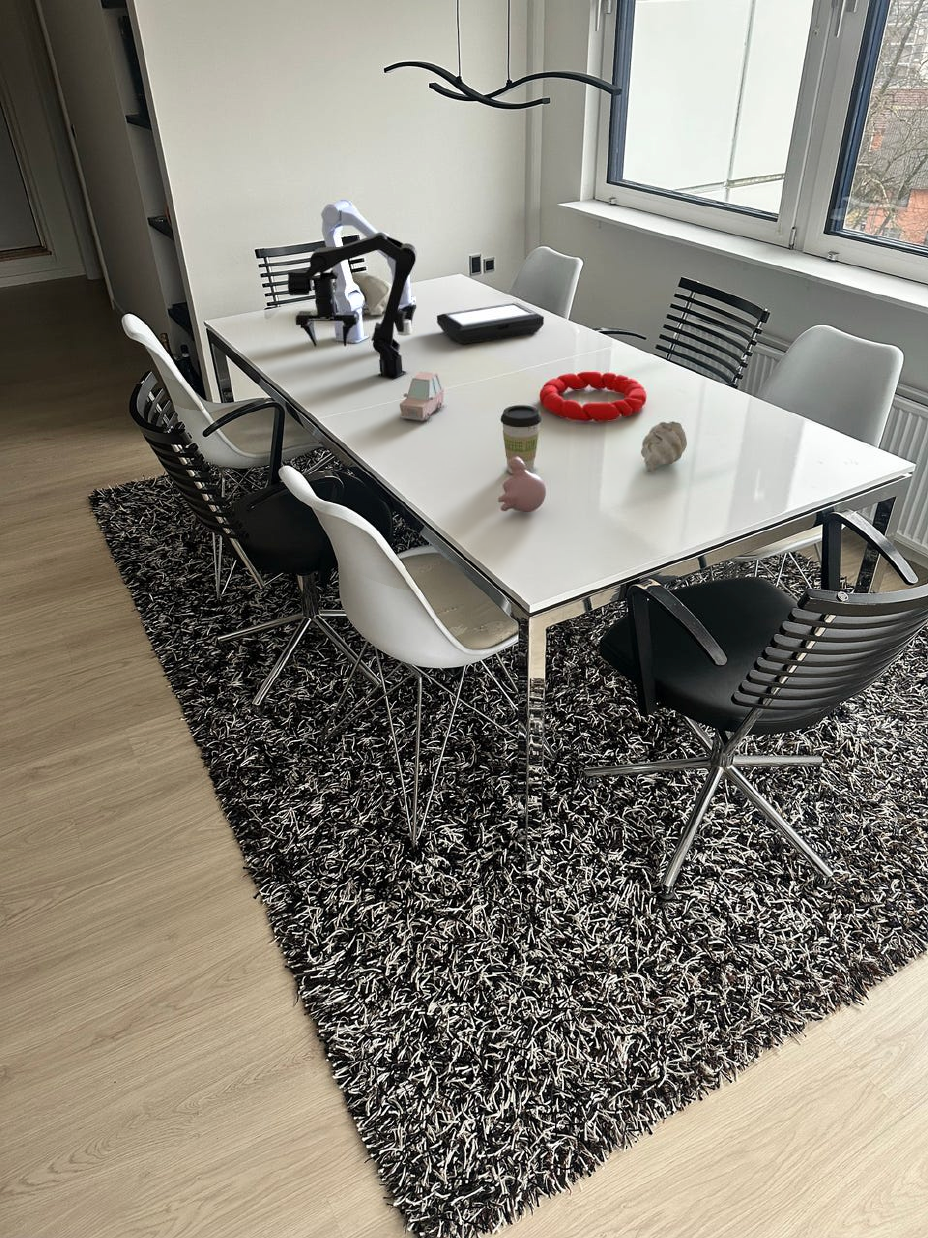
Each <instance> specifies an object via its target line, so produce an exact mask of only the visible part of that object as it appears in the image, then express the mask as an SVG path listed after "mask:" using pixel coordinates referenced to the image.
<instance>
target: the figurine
mask: <svg viewBox="0 0 928 1238" xmlns="http://www.w3.org/2000/svg"><path fill="white" fill-rule="evenodd" d="M509 467H510V468H511V469H512V473H511V475H512V476H510V477H508V479H506V480H505V481H503V484H502V488H503V491H504V493H503V494H501V495H500V496H499V497H498V498H497V500H498V501H497V502H498V503H502V505H501V506H500V510H501V511H502V512H507V511H509V510H514V511H517V512H520V513H531V512H534V511H536V510H537V509H539V508H540V507H541V506H542V505H543V503H544V501H545V500H546V494H547V489H546V485H545V483H544V481H543V480H542V479H541V477H540V476H538V475H537V474H535V473H532V472H531V473H529V472H528V471H526V466H525V464H524V462H523V461H522V460H521V459H520V458H519V457H514V458H512V459H511V460H510V461H509Z"/></svg>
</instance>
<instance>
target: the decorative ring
mask: <svg viewBox="0 0 928 1238" xmlns="http://www.w3.org/2000/svg"><path fill="white" fill-rule="evenodd" d="M588 386H589V387H591V388H592V389H595V390H603V389H607V390H608V391H612V392H615V393H617V394H618V393H619V394H622V395H624V396H625V398H623V399H618V400H615V401H611V402H605V401H604V402H587V403H585V404H583V405H582V406H581V404H580V403H579V402H578V401H576V400H572V399H567V400H564V398H563V397H562V396H560V395H561V394H564V393H565V392H566V391H567V390H568V389H570V390H572V391H573V390H574V391H580V390H581V391H582V390H584V389H586V388H588ZM539 401H540V404H541V405H542V406H543V407H544V408H545V410H547V411H548V412H549V413H552V414H553V415H556V416H558V417H561V418H564V419H569V420H573V421H581V422H590V421H592V420H593V421H594V422H611V421H615V420H617V419H618V418H619V417H620V416H622V417H629V416H631V415H632V414H636V413H638V412H639V411H640V410H642V408H643V406H644V405H645V404H646V401H647V392H646V390H645V388H644V386H643V385H642V384H641V383H639V382H638V381H637V380H635V379H634V378H629V377H628V376H626V375H622V374H618V375H616V374H615V373H614V372H605V373H603V374H602V373H601V372H598V371H580V372H579V373H576V374H575V373H573V372H572V373H566V374H561V375H559V376H557V377H556V378H551V379H550V380H548V381H546V382H545V384H543V386H542V388H541V389H540V391H539Z"/></svg>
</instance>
